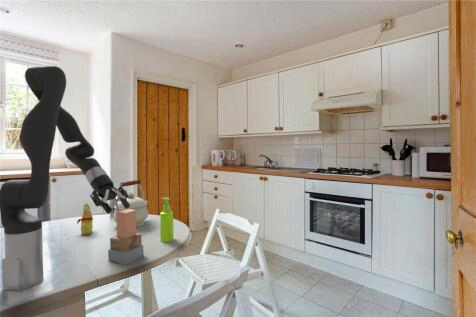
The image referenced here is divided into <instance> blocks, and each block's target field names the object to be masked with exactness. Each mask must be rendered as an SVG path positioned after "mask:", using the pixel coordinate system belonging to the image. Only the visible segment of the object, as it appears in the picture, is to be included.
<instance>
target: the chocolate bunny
mask: <svg viewBox="0 0 476 317" xmlns="http://www.w3.org/2000/svg"><path fill="white" fill-rule="evenodd" d="M82 207H83V208H82V214H81V218H79V219H78V220H77V221H76V222H77V223H76V224H77V225H79V223H80V222H81V223H80V233H81V235H85V236H86V235H90V234H91V233H92V230H93V220H94V218H93V214H92V211H91V208H90V204H89V203H84V204H83V206H82Z"/></svg>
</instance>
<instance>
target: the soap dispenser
mask: <svg viewBox="0 0 476 317" xmlns="http://www.w3.org/2000/svg"><path fill="white" fill-rule="evenodd" d="M159 199H160V200H164V203H163V205H162V211H161V212H160V214H159V215H160V216H159V220H160V221H159V222H160V223H159V224H160V225H159V226H160V242H162V243H169V242H173V241H174V212H173V210H171V204H169V200H171V198H170V197H168V196H166V197H165V196H163V197H160V198H159Z"/></svg>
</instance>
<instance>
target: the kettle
mask: <svg viewBox="0 0 476 317" xmlns="http://www.w3.org/2000/svg"><path fill="white" fill-rule="evenodd" d="M141 182H142V181H141V179H136V180H135V179H134V180H128V181H125V182H123V181H122V182H119V187H122V188H124V187H130V186H135V185H138V188H139V190H140V191H141V193H142V197H137V196H136V195H135V194H134V193H132V192H129V193H127V194H128V195H129V197H128V198H127V199H126V200H127V201H128V203H129V204H130V207H129V208H128V209H132V210H136V228H137V227H140V226H142V225H144V224H145V221H146V220H147V218H148V216H149V210H148V207H147V206H148V203H149V201H148V200H145V194H146V193H145V191H144V189H143V188H142V185H141ZM135 196H136V197H135ZM116 197H118V195H117V196H116ZM114 208H115V210H114V214H113V217H112V218H113V221H114V222H115V223H116V224H117V216H116V212H117V211H120V210H124V209H125V207H124V206H123V204H122V202H120V201H118V202H117V200H115V206H114Z"/></svg>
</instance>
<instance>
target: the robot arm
mask: <svg viewBox="0 0 476 317" xmlns="http://www.w3.org/2000/svg"><path fill="white" fill-rule="evenodd" d="M24 79H25V82H26V84H27V86H28V87H29V89H30V91H31V93H32V94H33V95H34V96H35V98H36V99H37V100H38V102H37V104H35V105H34V106H33V108H32V109H31V110H30V111H29V112H28V113H27V115H26V116H25V117H24V119H23V121H22V122H21V129H20V134H19V142H20V145H21V148H22V149H23V151H24V153H25V154H26V155H27V158H28V159H29V162H30V165H31V167H30V168H31V171H30V173H31V174H30V179H10V180H6V181H5V182H4V183H2V185H1V187H0V222H1V226H2V227H3V232H4V233H3V234H4V236H3V237H4V257H3V258H1V279H2V280H1V281H2V283H1V285H2V290H5V291H15V292H21V291H22V290H25V289H28V288H32V287H34V286H36V285H38V284H39V283H41V282H43V280H44V250H43V248H44V247H43V220H42V219H41V218H40V217H37V216H36V215H32V214H30V213H28V212H27V211H26V210H31V209H39V208H42V207H43V206H44V205H45V203H46V202H47V197H48V194H49V193H48V192H49V185H50V184H49V182H50V181H49V180H50V168H51V167H50V166H51V159H52V151H53V147H54V142H55V136H56V132H57V130H58V132H59V133H60V135H61V138H62V139H63V141H64V142H65V143H68V144H69V143H77V144H74V145H72V146H69V147H67V148H66V150H65V152H64V154H65V157H66V158H67V159H68V160H69V161H70V162H72V164H74V165H75V166H76V167H77V168H79V169H80V171H81V172H82V173H83V175H84V177H85V179H86V181H87V182H88V184H89V185H90V186H91V188H92V190H93V191H92V192H91V193H90V195H89V196H90V198H91V200H92V202H93V203H94V205H95V207H101V208H103V210H104V211H105V213H106V214H108V215H110V213H111V212H112V209H111V207H110V203H108V202H107V201H110V200H113V199H115V200H118V201H120V202H122V204H123V206H124V207H125V209H128V208H129V207H130V204H129V203H128V201H127V200H126V199H127V198H128V197H129V195H128V194H129V193H128V192H127V193H126V192H125V190H126V189H124V187H120V186H119V187H118V188H116V187H115V186H114V181H113V180H112V179H111V178H110V176H109V174H107V172H106V170H105V169H104V168H103V167H102V166H101V164H100V163H99V162H98V160H97V159H96V158H94V157H93V156H94V154H95V149H94V146H92V144H91V143H90V142H89V141H88V140H87V139H86V137H85V136H84V135H83V133H82V131H81V129H80V126H79V124H78V122H77V120H76V119H75V118H74V117H73V115H72V114H71V113H70V112H69V111H67V110H66V109H65V108H64V107H63V106H61V104H62V102H63V99H64V95H65V92H66V88H67V77H66V74H65V71H64V70H63V69H62V68H61V67H59V66H56V65H43V66H33V67H32V66H31V67H28V68H27V69H26V70H25V72H24ZM92 157H93V158H92ZM117 195H118V197H116V196H117ZM124 195H125V196H124ZM120 197H121V198H122V199H121V198H120Z"/></svg>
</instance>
